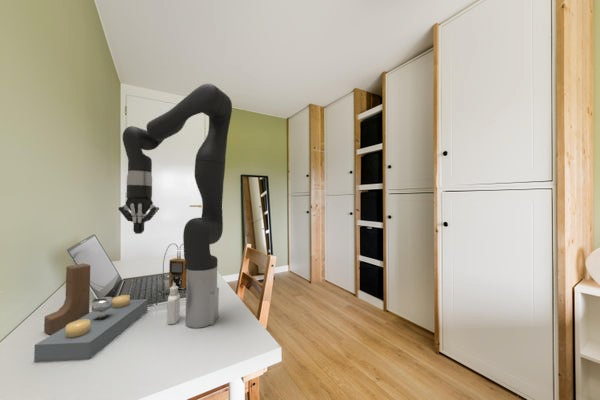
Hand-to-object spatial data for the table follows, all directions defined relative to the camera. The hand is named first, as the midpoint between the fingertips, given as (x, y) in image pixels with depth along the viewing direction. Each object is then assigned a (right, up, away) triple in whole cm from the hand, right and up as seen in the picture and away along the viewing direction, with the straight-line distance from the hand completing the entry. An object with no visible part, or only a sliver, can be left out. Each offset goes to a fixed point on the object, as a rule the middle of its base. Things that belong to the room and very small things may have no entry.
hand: (138, 233), depth 84 cm
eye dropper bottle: (+17, -27, -8) cm, 33 cm away
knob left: (0, -26, -23) cm, 35 cm away
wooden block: (-13, -27, -12) cm, 32 cm away
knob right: (-2, -27, -6) cm, 27 cm away
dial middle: (-1, -24, -15) cm, 28 cm away
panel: (-1, -27, -15) cm, 30 cm away
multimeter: (+3, -28, +17) cm, 33 cm away
